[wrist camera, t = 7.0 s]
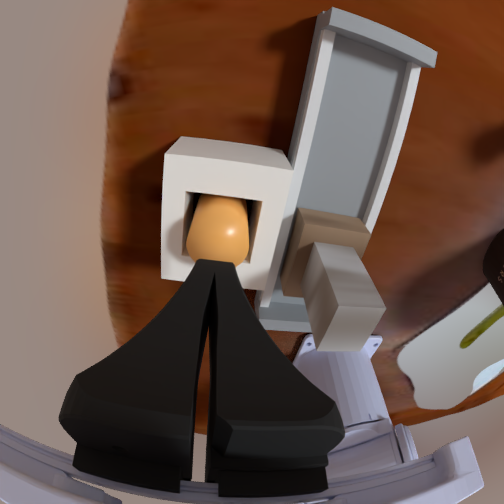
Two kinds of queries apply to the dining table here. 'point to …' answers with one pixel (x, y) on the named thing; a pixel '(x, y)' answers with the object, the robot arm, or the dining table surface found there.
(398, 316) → the dining table surface
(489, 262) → the coffee mug
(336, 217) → the carriage
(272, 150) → the white hollow block
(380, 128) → the rail track
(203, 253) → the orange egg
